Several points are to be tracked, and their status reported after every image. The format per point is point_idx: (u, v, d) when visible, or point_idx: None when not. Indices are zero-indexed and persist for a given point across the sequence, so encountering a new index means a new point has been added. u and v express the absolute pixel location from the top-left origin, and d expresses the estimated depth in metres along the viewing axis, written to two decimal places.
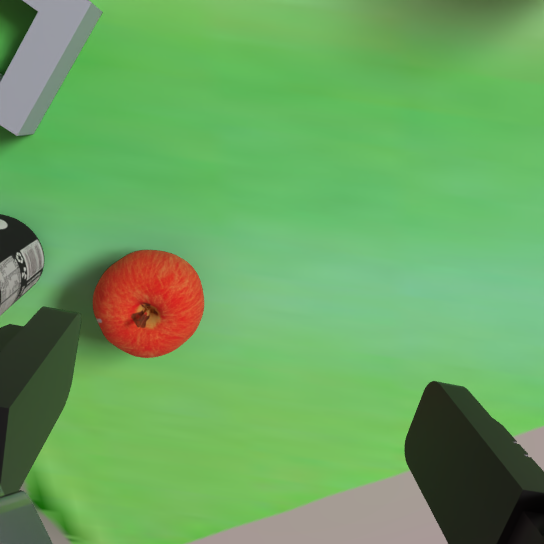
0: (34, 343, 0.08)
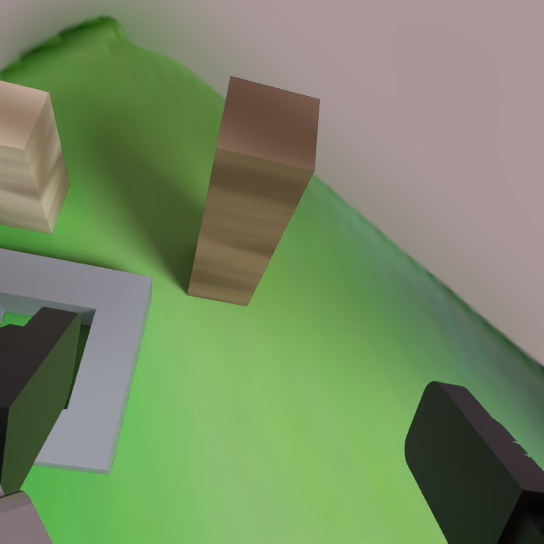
0: (34, 343, 0.08)
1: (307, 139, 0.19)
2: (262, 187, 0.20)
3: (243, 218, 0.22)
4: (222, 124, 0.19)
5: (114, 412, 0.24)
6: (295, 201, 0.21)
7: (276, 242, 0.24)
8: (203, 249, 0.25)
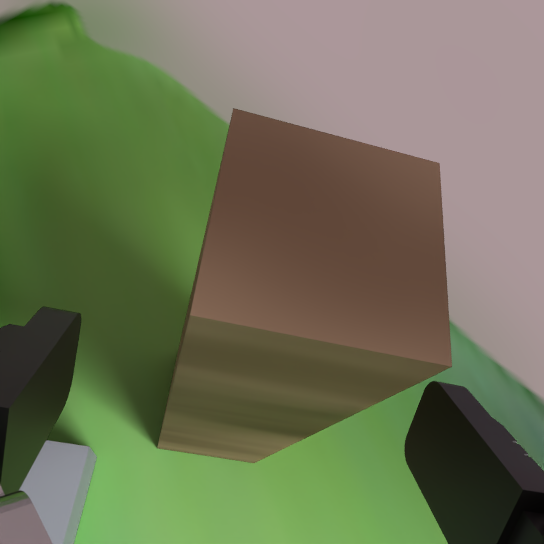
0: (34, 343, 0.08)
1: (426, 272, 0.08)
2: (306, 376, 0.08)
3: (256, 403, 0.10)
4: (209, 241, 0.07)
5: None
6: (378, 397, 0.09)
7: (319, 429, 0.12)
8: (177, 421, 0.13)
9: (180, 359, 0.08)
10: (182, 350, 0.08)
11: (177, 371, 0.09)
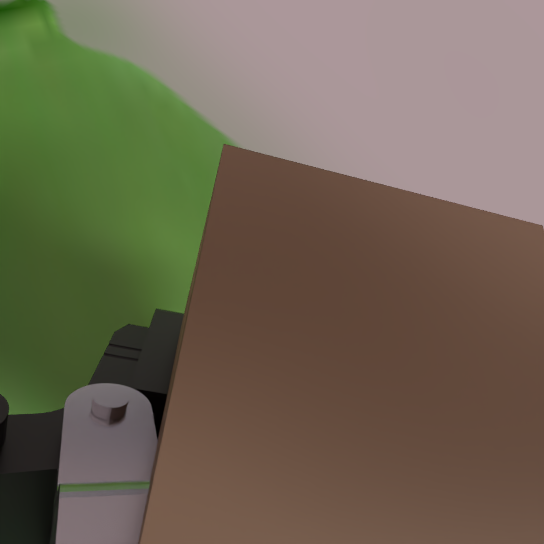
0: (164, 340, 0.10)
1: None
2: None
3: None
4: (178, 395, 0.04)
5: None
6: None
7: None
8: None
9: None
10: None
11: None
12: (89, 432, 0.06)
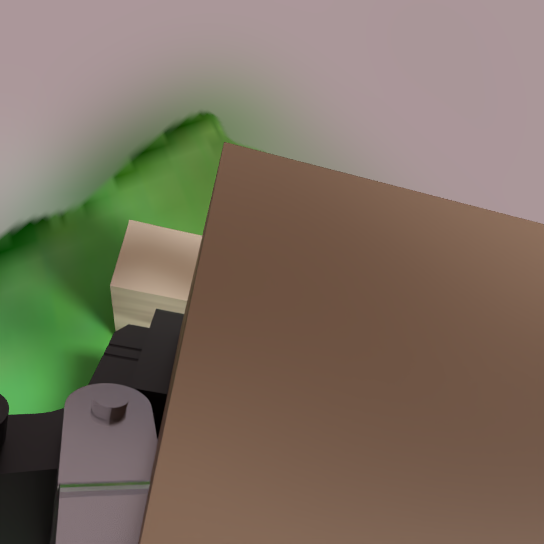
0: (164, 341, 0.10)
1: None
2: None
3: None
4: (178, 393, 0.04)
5: None
6: None
7: None
8: None
9: None
10: None
11: None
12: (89, 432, 0.06)
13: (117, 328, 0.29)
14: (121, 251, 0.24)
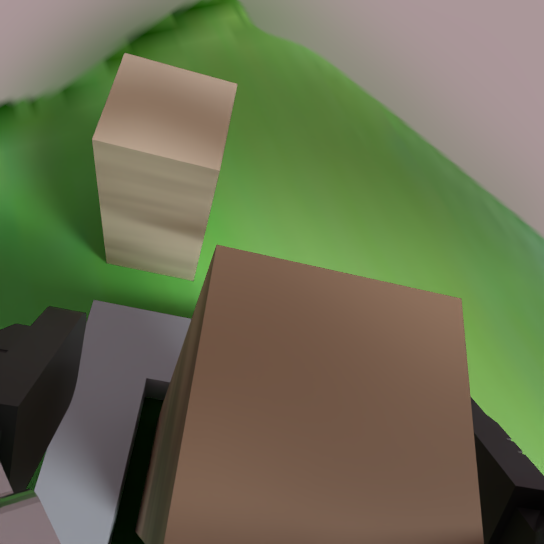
0: (41, 342, 0.08)
1: (451, 457, 0.06)
2: None
3: None
4: (186, 444, 0.06)
5: None
6: None
7: None
8: None
9: None
10: None
11: None
12: None
13: (107, 241, 0.20)
14: (111, 93, 0.15)
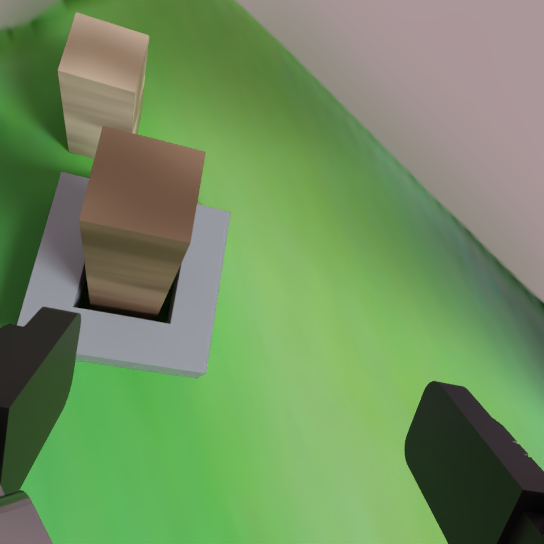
0: (34, 343, 0.08)
1: (186, 204, 0.18)
2: (140, 249, 0.19)
3: (128, 267, 0.21)
4: (88, 189, 0.17)
5: (208, 327, 0.28)
6: (178, 261, 0.19)
7: (169, 284, 0.23)
8: (95, 283, 0.24)
9: (82, 241, 0.18)
10: (81, 236, 0.18)
11: (83, 248, 0.19)
12: None
13: (68, 136, 0.30)
14: (68, 40, 0.25)
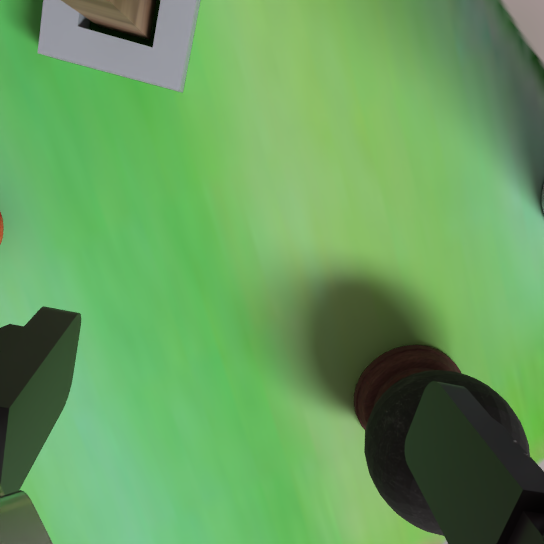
0: (34, 343, 0.08)
1: None
2: None
3: (90, 7, 0.28)
4: None
5: (183, 53, 0.35)
6: (116, 9, 0.26)
7: (129, 21, 0.30)
8: (82, 12, 0.31)
9: None
10: None
11: None
12: None
13: None
14: None
